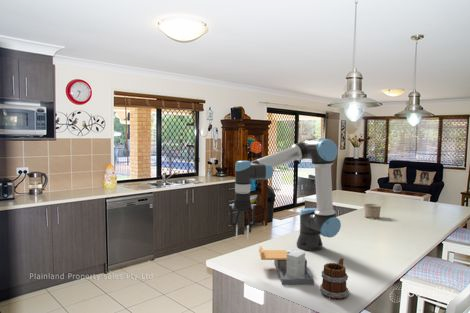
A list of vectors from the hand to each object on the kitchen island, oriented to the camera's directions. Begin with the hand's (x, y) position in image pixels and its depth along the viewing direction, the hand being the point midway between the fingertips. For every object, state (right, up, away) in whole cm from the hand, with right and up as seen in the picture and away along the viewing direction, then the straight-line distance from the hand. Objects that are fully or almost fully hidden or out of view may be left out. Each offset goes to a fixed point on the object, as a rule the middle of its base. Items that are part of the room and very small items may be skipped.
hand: (242, 238), depth 165 cm
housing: (+24, -15, -5) cm, 29 cm away
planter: (+109, -10, +109) cm, 155 cm away
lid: (+16, -9, +1) cm, 18 cm away
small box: (+24, -15, -11) cm, 30 cm away
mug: (+39, -17, -25) cm, 49 cm away
